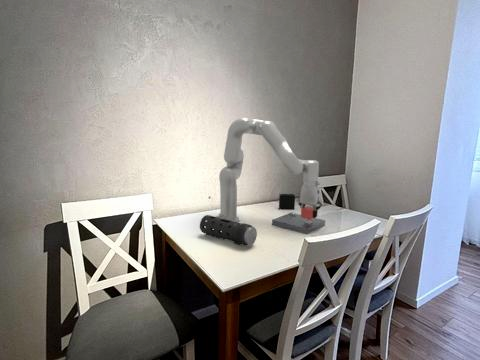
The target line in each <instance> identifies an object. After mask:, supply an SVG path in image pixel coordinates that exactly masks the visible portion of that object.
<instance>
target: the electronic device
mask: <svg viewBox="0 0 480 360" xmlns="http://www.w3.org/2000/svg"><path fill="white" fill-rule="evenodd" d="M278 197H279V198H278V208H279V210H280V211H281V210H283V211H285V210H286V211H288V210H289V211H293V210H295V207H296V206H295V205H296V195H295V194H294V193H279V194H278Z"/></svg>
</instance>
